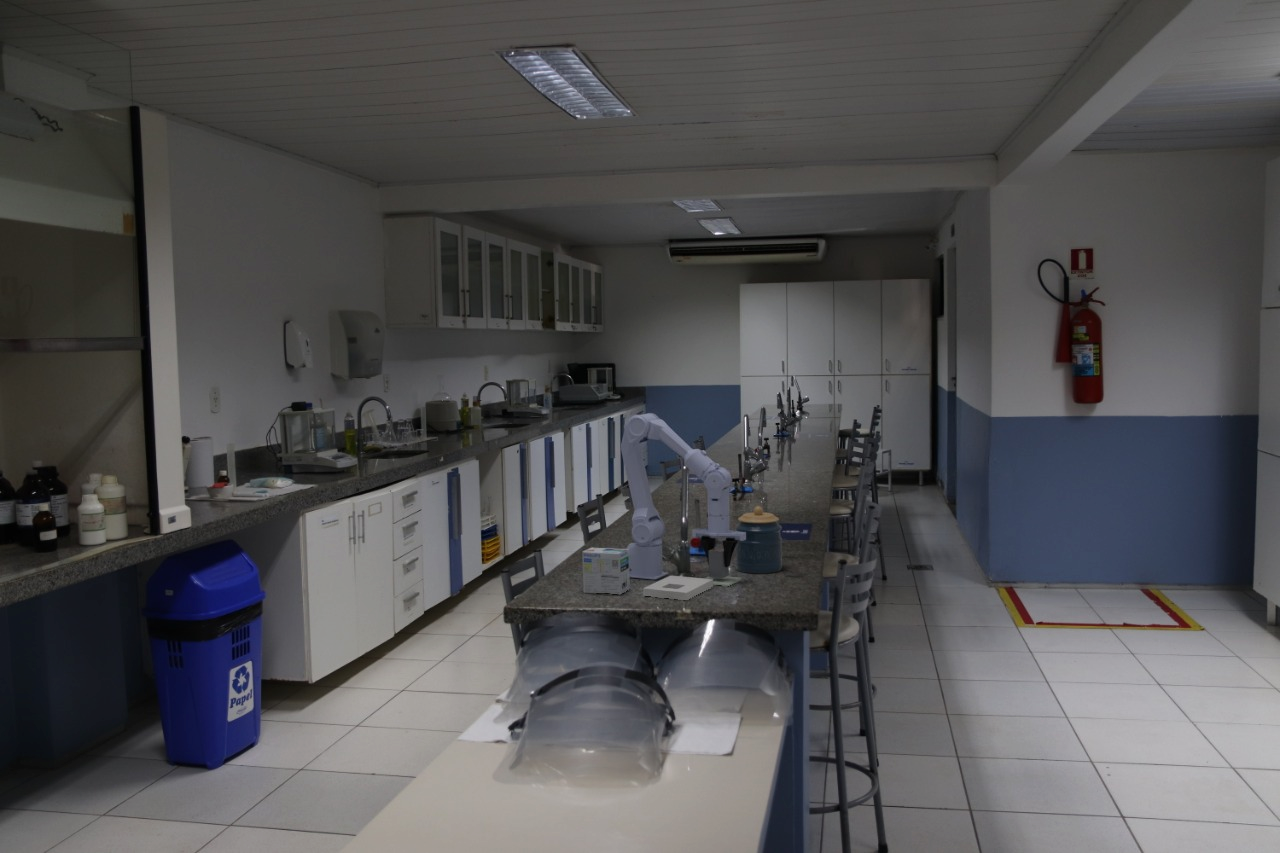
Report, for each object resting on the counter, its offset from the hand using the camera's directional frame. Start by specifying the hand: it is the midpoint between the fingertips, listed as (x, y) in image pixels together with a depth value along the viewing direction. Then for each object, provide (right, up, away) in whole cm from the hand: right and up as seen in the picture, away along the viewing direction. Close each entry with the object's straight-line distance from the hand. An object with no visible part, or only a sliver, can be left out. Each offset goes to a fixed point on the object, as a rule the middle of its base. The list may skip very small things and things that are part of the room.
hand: (719, 565), depth 266 cm
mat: (0, -4, 0) cm, 4 cm away
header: (-11, -5, -10) cm, 16 cm away
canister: (+12, -3, +15) cm, 19 cm away
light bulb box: (-29, -6, -9) cm, 31 cm away
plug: (0, -3, 0) cm, 3 cm away
